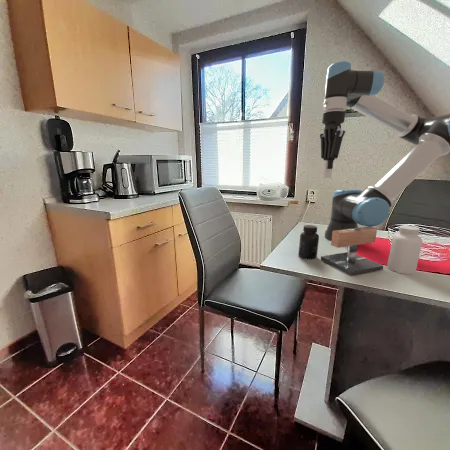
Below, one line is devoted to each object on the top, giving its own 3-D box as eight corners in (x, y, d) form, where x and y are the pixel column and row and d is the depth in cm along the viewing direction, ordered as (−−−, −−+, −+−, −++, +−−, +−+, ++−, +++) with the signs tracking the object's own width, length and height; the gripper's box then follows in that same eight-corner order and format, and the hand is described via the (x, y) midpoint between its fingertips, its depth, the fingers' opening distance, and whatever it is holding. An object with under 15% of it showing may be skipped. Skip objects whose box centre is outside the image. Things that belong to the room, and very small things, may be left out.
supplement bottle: (318, 260, 91) (321, 229, 88) (299, 259, 92) (301, 228, 89) (315, 253, 97) (318, 224, 94) (297, 252, 99) (300, 223, 96)
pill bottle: (403, 276, 79) (412, 231, 75) (381, 266, 86) (388, 225, 82) (421, 273, 81) (431, 229, 77) (398, 263, 88) (406, 223, 84)
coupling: (330, 252, 84) (332, 230, 82) (366, 246, 90) (369, 226, 88) (336, 255, 82) (339, 233, 80) (373, 248, 87) (377, 228, 85)
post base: (349, 255, 96) (351, 243, 95) (382, 269, 83) (385, 256, 82) (320, 260, 91) (322, 247, 90) (351, 276, 79) (353, 261, 77)
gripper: (315, 114, 95) (309, 176, 101) (334, 108, 83) (327, 178, 89) (333, 115, 96) (326, 176, 102) (355, 108, 84) (346, 178, 90)
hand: (327, 177), depth 95 cm, fingers closed
